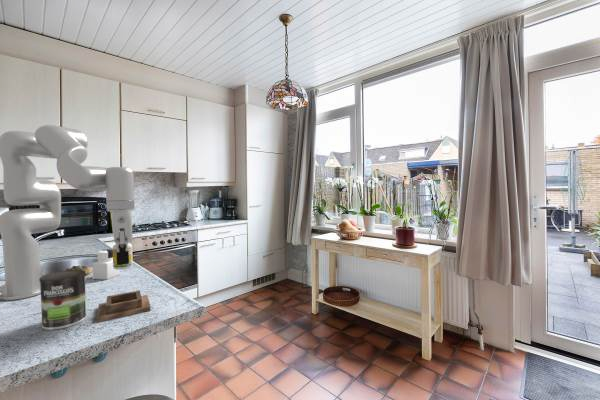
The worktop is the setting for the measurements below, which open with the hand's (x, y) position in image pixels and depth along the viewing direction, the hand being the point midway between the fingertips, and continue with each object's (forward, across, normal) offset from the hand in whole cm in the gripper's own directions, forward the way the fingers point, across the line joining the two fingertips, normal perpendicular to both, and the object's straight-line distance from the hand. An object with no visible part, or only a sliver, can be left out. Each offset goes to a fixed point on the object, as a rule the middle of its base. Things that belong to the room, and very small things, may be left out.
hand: (122, 261), depth 90 cm
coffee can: (+16, 0, +15) cm, 22 cm away
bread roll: (+16, +54, +17) cm, 59 cm away
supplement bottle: (+2, 0, 0) cm, 2 cm away
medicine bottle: (+16, +43, +6) cm, 46 cm away
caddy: (+16, 0, 0) cm, 16 cm away
